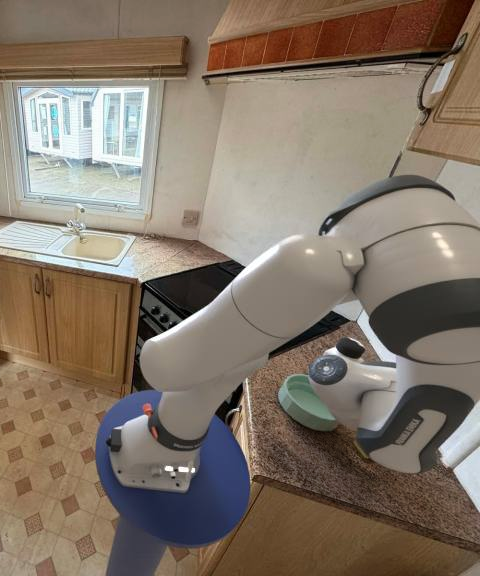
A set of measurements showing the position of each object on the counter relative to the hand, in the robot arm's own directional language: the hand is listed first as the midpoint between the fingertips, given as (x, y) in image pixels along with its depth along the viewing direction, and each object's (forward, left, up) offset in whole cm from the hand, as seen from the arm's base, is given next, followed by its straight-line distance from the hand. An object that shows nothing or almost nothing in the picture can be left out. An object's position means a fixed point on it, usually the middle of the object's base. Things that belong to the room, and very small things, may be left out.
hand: (371, 433), depth 73 cm
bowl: (-3, +13, -8) cm, 16 cm away
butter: (+4, 0, -8) cm, 9 cm away
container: (+16, +25, -8) cm, 31 cm away
